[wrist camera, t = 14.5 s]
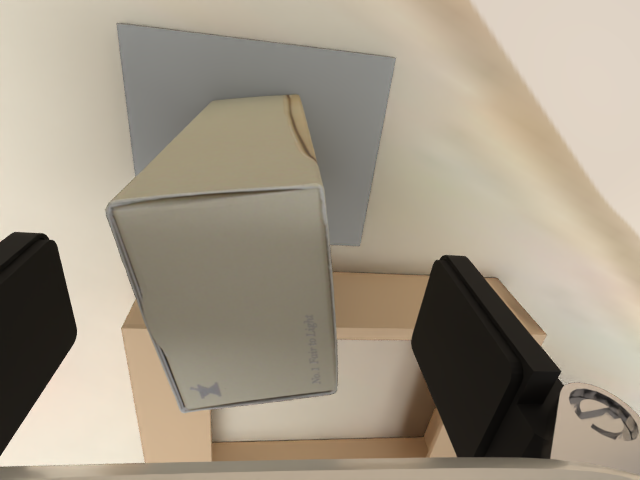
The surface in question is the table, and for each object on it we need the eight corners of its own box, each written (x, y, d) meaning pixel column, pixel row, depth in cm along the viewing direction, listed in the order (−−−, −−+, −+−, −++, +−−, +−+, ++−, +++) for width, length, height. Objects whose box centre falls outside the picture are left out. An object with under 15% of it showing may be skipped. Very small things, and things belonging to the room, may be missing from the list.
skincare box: (309, 210, 21) (345, 400, 10) (227, 218, 21) (179, 422, 10) (299, 87, 18) (335, 182, 7) (202, 95, 18) (94, 205, 7)
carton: (497, 278, 25) (652, 456, 15) (429, 444, 34) (497, 630, 24) (152, 264, 22) (46, 479, 12) (173, 452, 31) (122, 671, 20)
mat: (392, 57, 18) (395, 58, 18) (358, 241, 23) (359, 246, 22) (120, 23, 16) (116, 23, 16) (145, 231, 21) (142, 235, 21)
